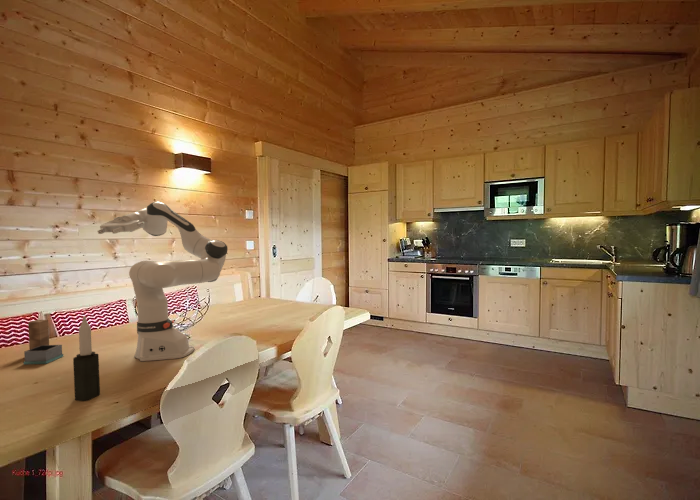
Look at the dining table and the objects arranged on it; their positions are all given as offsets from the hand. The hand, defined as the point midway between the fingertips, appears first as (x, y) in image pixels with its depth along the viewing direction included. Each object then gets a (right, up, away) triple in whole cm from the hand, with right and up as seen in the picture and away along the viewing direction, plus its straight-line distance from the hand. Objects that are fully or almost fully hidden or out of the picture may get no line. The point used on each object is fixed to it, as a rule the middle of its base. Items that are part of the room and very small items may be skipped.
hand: (105, 232), depth 168 cm
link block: (-16, -53, -17) cm, 58 cm away
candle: (+35, -54, -59) cm, 88 cm away
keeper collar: (-7, -53, -26) cm, 59 cm away
